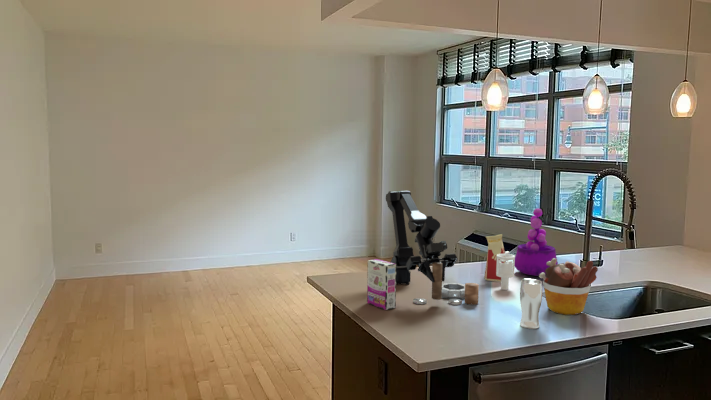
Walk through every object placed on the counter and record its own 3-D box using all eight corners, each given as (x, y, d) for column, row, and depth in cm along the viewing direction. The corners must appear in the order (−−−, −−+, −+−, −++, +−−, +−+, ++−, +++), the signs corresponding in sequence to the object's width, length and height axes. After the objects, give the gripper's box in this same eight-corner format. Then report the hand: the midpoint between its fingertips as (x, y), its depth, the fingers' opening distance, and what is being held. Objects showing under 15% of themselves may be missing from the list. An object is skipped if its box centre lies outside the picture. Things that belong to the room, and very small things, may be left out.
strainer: (515, 287, 229) (516, 252, 227) (511, 292, 223) (512, 255, 221) (498, 285, 232) (499, 250, 230) (493, 289, 226) (494, 253, 224)
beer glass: (515, 322, 187) (517, 278, 185) (535, 322, 187) (537, 278, 186) (523, 329, 180) (525, 284, 178) (544, 329, 181) (546, 283, 179)
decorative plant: (560, 280, 240) (564, 211, 237) (516, 278, 243) (518, 210, 240) (553, 270, 259) (556, 206, 255) (511, 268, 262) (514, 205, 258)
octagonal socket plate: (433, 298, 214) (433, 290, 214) (432, 289, 226) (432, 282, 226) (475, 299, 212) (476, 291, 212) (473, 291, 224) (473, 283, 224)
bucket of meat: (528, 306, 204) (530, 253, 202) (559, 300, 212) (561, 248, 210) (574, 322, 187) (577, 264, 184) (606, 314, 195) (609, 259, 193)
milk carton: (506, 277, 246) (507, 232, 244) (504, 282, 238) (506, 235, 235) (485, 275, 249) (486, 231, 247) (482, 280, 240) (484, 234, 238)
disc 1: (413, 305, 207) (413, 301, 207) (413, 301, 212) (413, 297, 211) (426, 305, 206) (426, 302, 206) (426, 301, 211) (426, 298, 211)
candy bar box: (396, 308, 202) (397, 263, 200) (386, 310, 199) (386, 265, 197) (376, 300, 210) (377, 258, 209) (366, 303, 207) (366, 259, 206)
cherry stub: (464, 304, 206) (465, 286, 205) (464, 300, 211) (464, 282, 210) (478, 305, 206) (479, 286, 205) (477, 301, 211) (478, 283, 210)
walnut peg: (431, 299, 203) (432, 264, 202) (431, 296, 207) (432, 262, 205) (441, 299, 203) (442, 264, 201) (441, 296, 206) (442, 262, 205)
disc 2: (448, 305, 206) (448, 302, 206) (448, 301, 211) (448, 298, 211) (462, 306, 205) (462, 302, 205) (461, 302, 210) (461, 299, 210)
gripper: (409, 234, 203) (422, 271, 194) (456, 232, 208) (469, 268, 199) (401, 251, 211) (412, 287, 202) (445, 248, 217) (458, 283, 208)
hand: (438, 281), depth 203 cm, fingers closed on walnut peg, 4 cm apart
